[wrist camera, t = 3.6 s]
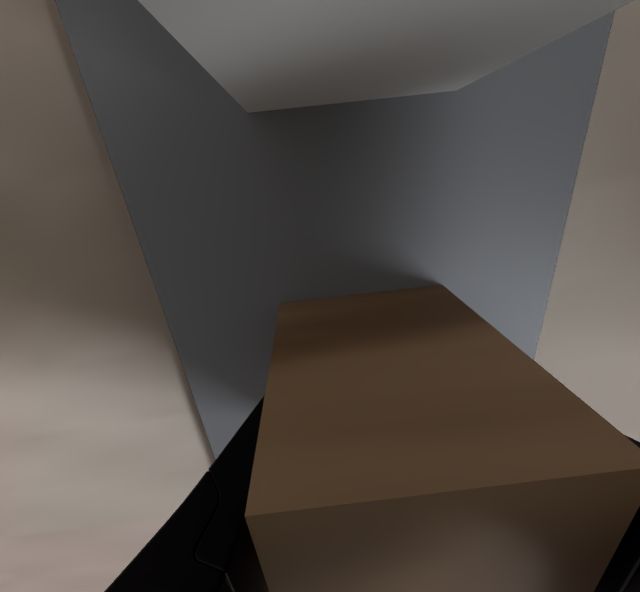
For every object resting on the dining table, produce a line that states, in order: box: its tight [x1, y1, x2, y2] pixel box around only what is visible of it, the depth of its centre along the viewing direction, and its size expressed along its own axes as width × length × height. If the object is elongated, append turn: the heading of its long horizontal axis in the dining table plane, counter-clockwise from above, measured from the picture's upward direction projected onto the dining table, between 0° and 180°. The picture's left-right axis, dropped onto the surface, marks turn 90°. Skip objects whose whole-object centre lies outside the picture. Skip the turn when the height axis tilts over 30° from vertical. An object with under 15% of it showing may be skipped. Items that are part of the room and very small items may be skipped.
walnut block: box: [245, 285, 640, 592], centre depth 7 cm, size 5×5×6 cm
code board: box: [55, 0, 615, 460], centre depth 10 cm, size 28×12×1 cm, turn 6°
